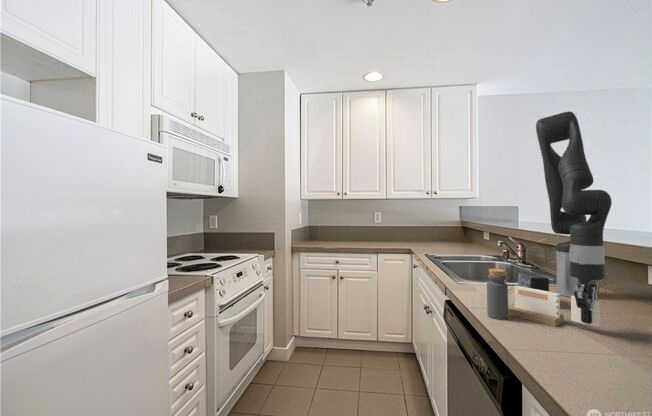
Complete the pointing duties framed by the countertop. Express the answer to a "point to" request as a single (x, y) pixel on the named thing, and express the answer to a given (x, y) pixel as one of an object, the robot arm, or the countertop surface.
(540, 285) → the small box
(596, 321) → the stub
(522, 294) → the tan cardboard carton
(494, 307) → the bottle
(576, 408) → the countertop surface
